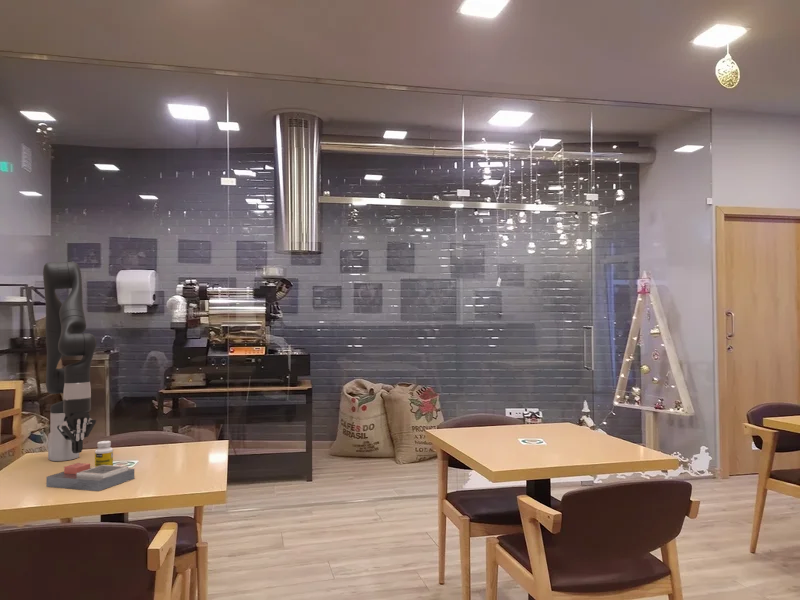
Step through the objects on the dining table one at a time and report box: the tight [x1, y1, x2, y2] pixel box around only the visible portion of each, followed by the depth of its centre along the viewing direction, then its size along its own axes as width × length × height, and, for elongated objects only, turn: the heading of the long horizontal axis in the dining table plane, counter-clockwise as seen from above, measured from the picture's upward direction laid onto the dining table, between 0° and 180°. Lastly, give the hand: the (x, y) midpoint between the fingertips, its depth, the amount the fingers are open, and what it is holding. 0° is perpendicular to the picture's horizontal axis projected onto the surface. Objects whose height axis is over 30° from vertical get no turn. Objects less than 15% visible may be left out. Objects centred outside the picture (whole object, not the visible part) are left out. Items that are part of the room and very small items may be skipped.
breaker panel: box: [45, 464, 135, 492], centre depth 176 cm, size 20×14×4 cm
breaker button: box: [63, 462, 91, 475], centre depth 178 cm, size 5×5×4 cm
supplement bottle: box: [94, 440, 114, 466], centre depth 190 cm, size 5×5×10 cm
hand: (77, 452), depth 178 cm, fingers closed
